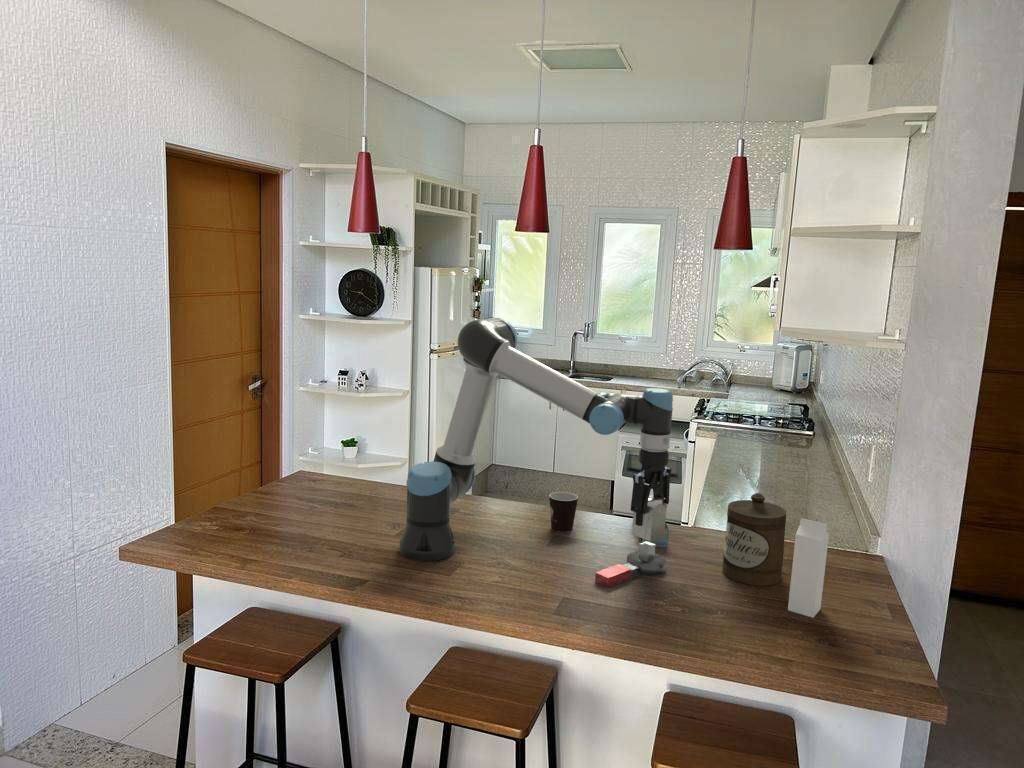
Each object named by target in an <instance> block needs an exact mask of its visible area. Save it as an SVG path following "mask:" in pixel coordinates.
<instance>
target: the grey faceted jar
mask: <svg viewBox="0 0 1024 768" xmlns="http://www.w3.org/2000/svg"><path fill="white" fill-rule="evenodd" d="M666 507H667V508H668V504H667V503H664V502H662V498H660V497H656V496H654V495H653V494H651V495H649V499H648V502H647V506H646V510H645V514H647V520H646V533H645V538H644V539H646V540H649V541H652V540H655V539H658V538H660V537H663V536H664V532H665V522H666V517H667V508H666ZM632 512H633V511H632ZM635 521H636V512H633V513H632V528H631V529H632V530H631V535H633V536H635V530H636V524H635Z"/></svg>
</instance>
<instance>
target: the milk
mask: <svg viewBox="0 0 1024 768" xmlns="http://www.w3.org/2000/svg"><path fill="white" fill-rule="evenodd" d="M827 529H828V524H827V523H824V522H820V521H815V520H810V519H806V518H800V522H799V526H798V529H797V530H796V533H795V539H794V547H793V557H792V567H791V568H792V569H791V578H790V583H789V584H790V586H789V595H788V605H787V610H788V611H789V612H793V613H795V614H799V615H802V616H805V617H809V618H814V617H815V616H817V614H818V613H819V611H820V610H821V608H822V607H821V606H822V598H823V591H824V590H823V589H824V582H825V572H826V565H827V555H828V545H829V537H830V534H829V532H828V530H827Z"/></svg>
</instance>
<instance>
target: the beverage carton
mask: <svg viewBox="0 0 1024 768" xmlns="http://www.w3.org/2000/svg"><path fill="white" fill-rule="evenodd" d="M666 522H667V521H665V532H664V536H663V537H660V538H658V539H655V540H652V541H649V540H646V539H643V538H640V537H638V539H639V542H640V543H643V542H646V541H647V542H650V543H652V544H655V546H658V547H657V548H668V547H669V535H670V533H669V531H670V529H669V527H668V525H667V523H666Z"/></svg>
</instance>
